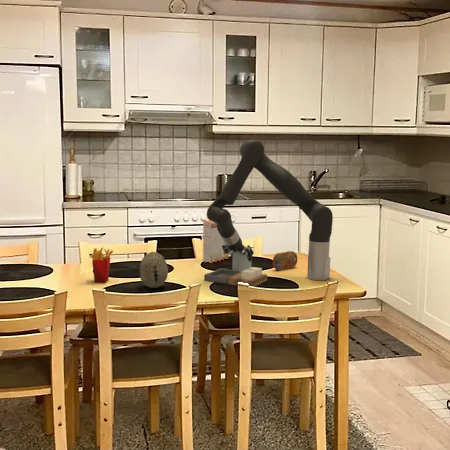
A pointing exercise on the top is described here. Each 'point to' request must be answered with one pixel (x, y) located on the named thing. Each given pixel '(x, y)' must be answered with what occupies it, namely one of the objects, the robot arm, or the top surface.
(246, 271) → the tile
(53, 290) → the top surface
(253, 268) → the tile
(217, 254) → the cracker box
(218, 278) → the tray
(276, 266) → the tin
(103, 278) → the french fries
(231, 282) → the board
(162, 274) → the decorative egg
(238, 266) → the grey-blue rectangular block
